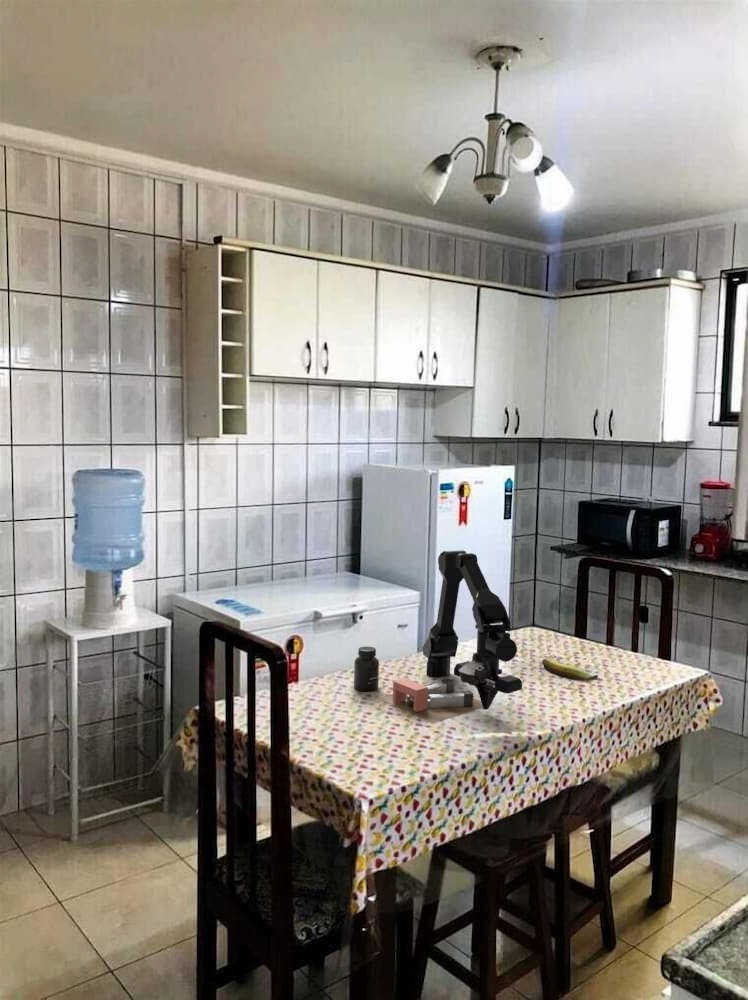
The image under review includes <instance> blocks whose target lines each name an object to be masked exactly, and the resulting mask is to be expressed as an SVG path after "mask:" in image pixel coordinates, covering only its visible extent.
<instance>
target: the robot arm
mask: <svg viewBox="0 0 748 1000" xmlns="http://www.w3.org/2000/svg"><path fill="white" fill-rule="evenodd" d="M437 563H438V571H439V572H440V574H441V576H442V584H441V591H440V599H439V604H438V610H437V611H438V612H437V619H436V623H435V624H434V625H433V626H432V627H431V628H430V630H429V633H428V638H427V639H426V640H425V643H424V644H423V646H422V655H423V656H424V657H425V658H427V662H426V676H428V677H429V678H430V677H431V678H445V677H447V676H449V674H451V658H452V657H453V658H455V657H456V655H457V651H458V646H459V637H458V634H457V633H456V630H455V629H454V623H455V618H456V617H455V616H456V610H457V603H458V597H459V589H460V584H461V582H462V581H463V580H464V581H465V584H466V586H467V589H468V590H469V593H470V595H471V598H472V600H473V604H472V608H471V610H472V616H473V620H474V621H475V623H476V624H475V625H474V628H475V629H476V630H477V633H476V634H477V636H476V637H477V638H476V640H477V641H476V652H475V653H473V654H472V658H471V660H470V661H469V660H467V661H463V662H459V663H456V664H455V665H454V668H453V675H454V676H455V677H458V678H460V681H461V682H462V683H465V684H468V685H469V686H473V687H474V688H476V691H477V693H478V696H479V699H480V701H481V702H482V706H483V708H482V709H483V710H485V711H488V710H489V709H490V707H491V706H492V703H493V701H494V699H495V698H496V695H497V694H498V693H499V692H500V693H503V694H511V693H515V692H518V691H522V690H523V681H522V679H521V678H520V677H517V676H513V675H512V674H508V675H505V676H501V675H502V674H503V669H500V661H501V662H504V663H505V662H506V663H507V662H511V661H512V660H513V659H514V658H515V657H516V655H517V653H518V647H517V644H516V642H515V641H514V640H513V639H512V638H511V633H509V632H511V631H512V628H511V621H510V618H509V614H508V613H507V610H506V606H505V605H504V604H503V602H502V599H500V597H499V596H498V595H497V594H495V593H494V592H493V591H491V589H490V587H489V585H488V582H487V580H486V578H485V576H484V574H483V572H482V569H481V566H480V564H479V563H478V557H477V554H476V553H472V552H471V553H470V552H467V551H465V550H443V551H442V552H440V554H439V556H438V558H437Z"/></svg>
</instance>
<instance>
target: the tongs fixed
mask: <svg viewBox="0 0 748 1000" xmlns="http://www.w3.org/2000/svg"><path fill="white" fill-rule="evenodd" d="M440 681H441V682H436V683H435V684H433V685H429V686H426V687H428V695H431V694H454V691H455V680H454V679H451V678H448V677H447V678H444V679H441V680H440ZM407 703H408V704H409V706H410V707H414V697H413V696H410V695H409V696H407Z"/></svg>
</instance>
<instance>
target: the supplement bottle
mask: <svg viewBox="0 0 748 1000" xmlns="http://www.w3.org/2000/svg"><path fill="white" fill-rule="evenodd" d="M376 649H377V648H375V647H373V646H360V647H358V653H357V655H358V656H357V657H356V658H355V659H354V668H353V671H354V672H353V690H355V691H356V692H359V693H374V692H377V691H378V690H379V680H380V679H379V677H380V676H379V674H380V672H379V671H380V670H379V669H380V661H379V658H377V653H376V651H377V650H376Z"/></svg>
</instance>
